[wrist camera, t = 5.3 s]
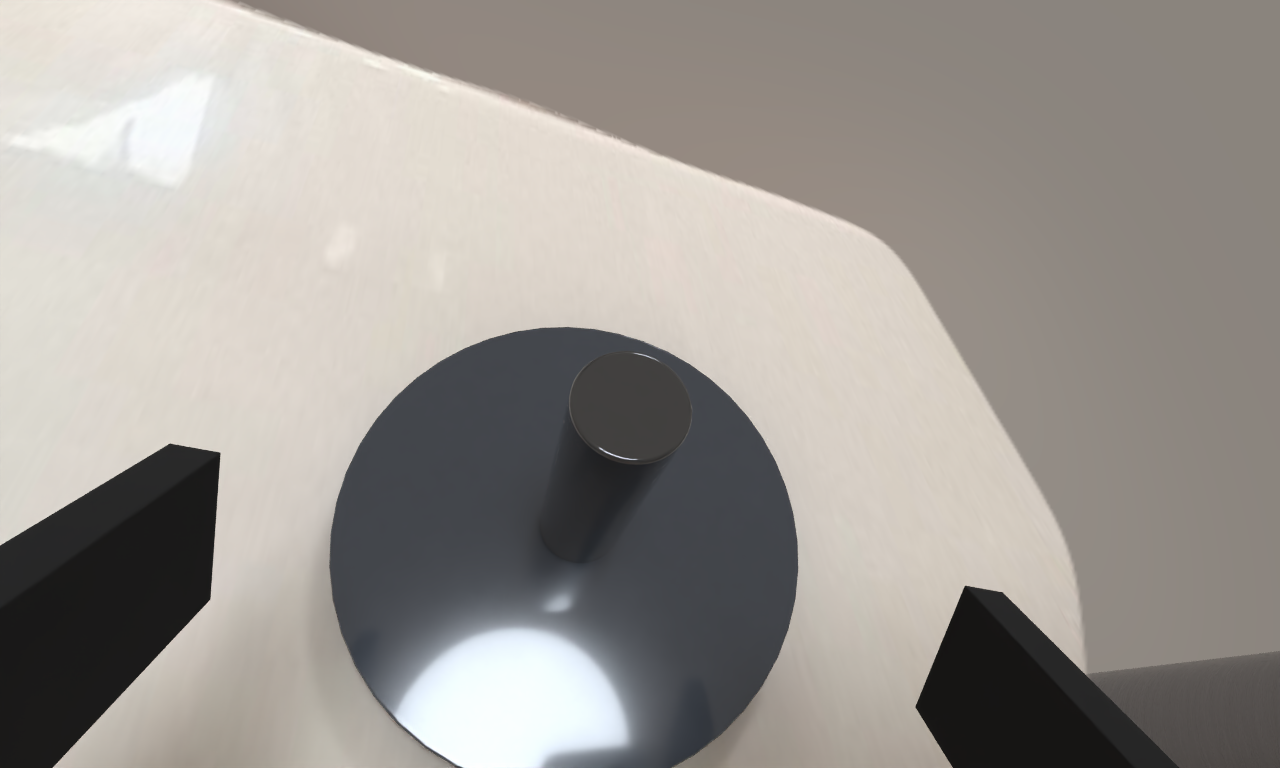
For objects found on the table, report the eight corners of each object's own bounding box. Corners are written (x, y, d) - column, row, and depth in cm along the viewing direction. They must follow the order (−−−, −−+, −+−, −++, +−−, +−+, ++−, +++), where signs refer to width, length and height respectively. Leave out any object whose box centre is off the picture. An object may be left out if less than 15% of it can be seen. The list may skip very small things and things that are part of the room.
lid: (831, 451, 26) (1000, 309, 17) (695, 890, 18) (876, 1014, 10) (492, 283, 26) (496, 64, 18) (224, 644, 19) (13, 562, 10)
